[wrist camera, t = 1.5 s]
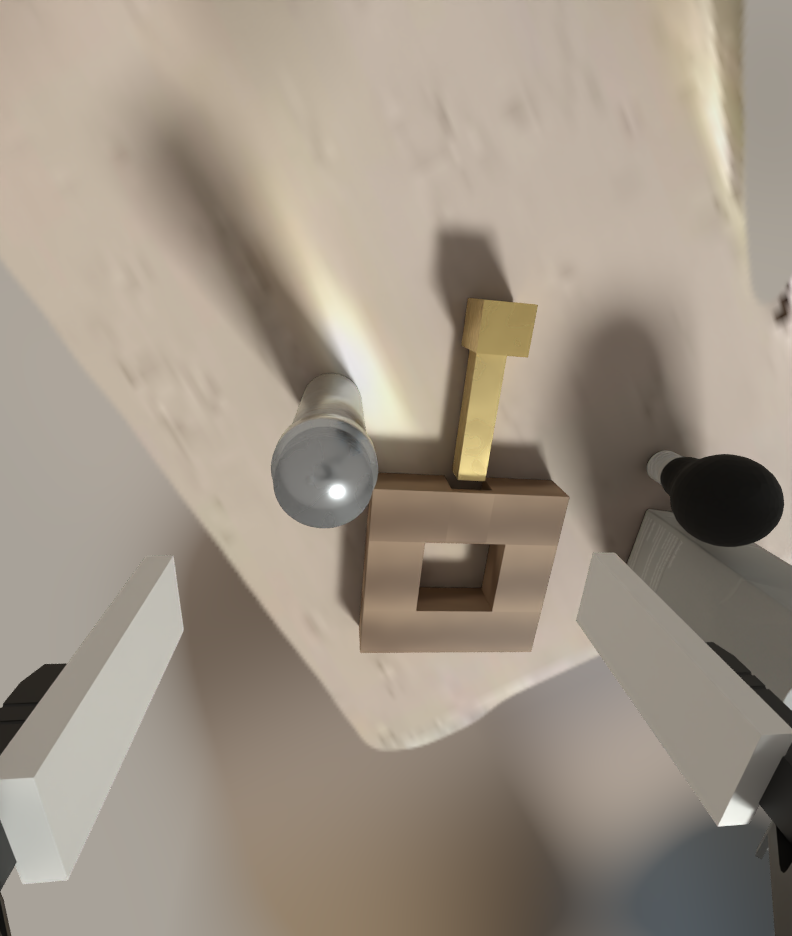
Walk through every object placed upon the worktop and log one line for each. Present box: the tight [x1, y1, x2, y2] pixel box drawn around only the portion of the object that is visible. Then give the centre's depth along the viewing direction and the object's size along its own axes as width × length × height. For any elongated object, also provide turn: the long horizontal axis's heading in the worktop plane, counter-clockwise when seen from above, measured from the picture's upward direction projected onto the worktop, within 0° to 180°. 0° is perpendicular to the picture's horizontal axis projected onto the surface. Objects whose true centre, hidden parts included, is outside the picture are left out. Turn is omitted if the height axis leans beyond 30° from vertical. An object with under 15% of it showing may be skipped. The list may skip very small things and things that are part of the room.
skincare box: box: [627, 509, 792, 710], centre depth 32 cm, size 8×7×16 cm
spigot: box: [271, 373, 378, 528], centre depth 25 cm, size 5×5×14 cm
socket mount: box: [359, 473, 569, 653], centre depth 36 cm, size 14×14×3 cm
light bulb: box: [647, 450, 784, 547], centre depth 31 cm, size 6×6×10 cm
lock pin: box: [452, 298, 538, 481], centre depth 30 cm, size 12×3×4 cm, turn 175°
